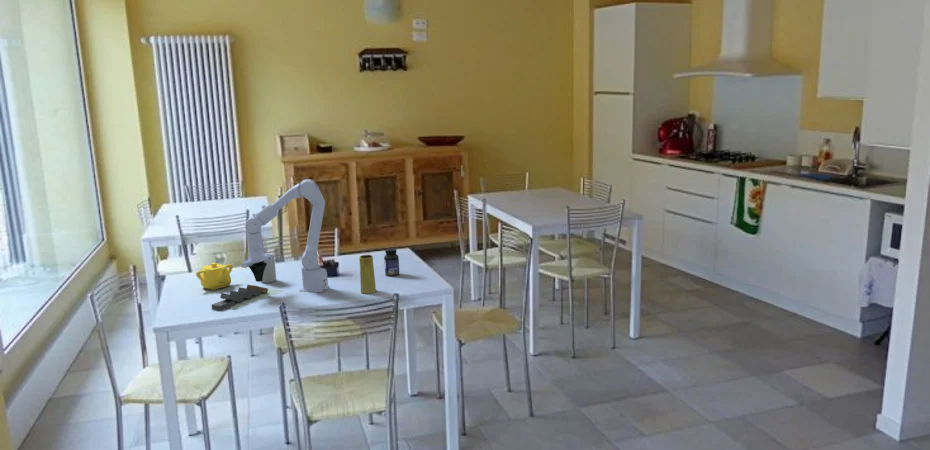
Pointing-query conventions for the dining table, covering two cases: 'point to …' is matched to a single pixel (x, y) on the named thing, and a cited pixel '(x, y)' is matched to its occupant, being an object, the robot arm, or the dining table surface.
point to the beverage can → (269, 270)
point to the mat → (255, 298)
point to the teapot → (215, 276)
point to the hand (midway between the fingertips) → (259, 281)
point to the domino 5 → (257, 288)
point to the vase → (367, 274)
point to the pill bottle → (391, 262)
